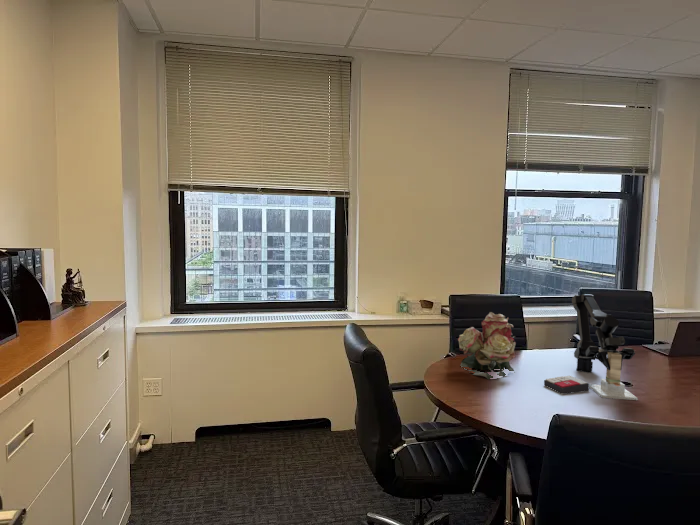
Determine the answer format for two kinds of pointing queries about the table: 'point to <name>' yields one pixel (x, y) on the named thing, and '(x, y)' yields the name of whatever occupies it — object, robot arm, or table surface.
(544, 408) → the table surface
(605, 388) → the sleeve stand
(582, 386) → the calculator
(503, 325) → the rose bouquet
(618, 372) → the column
